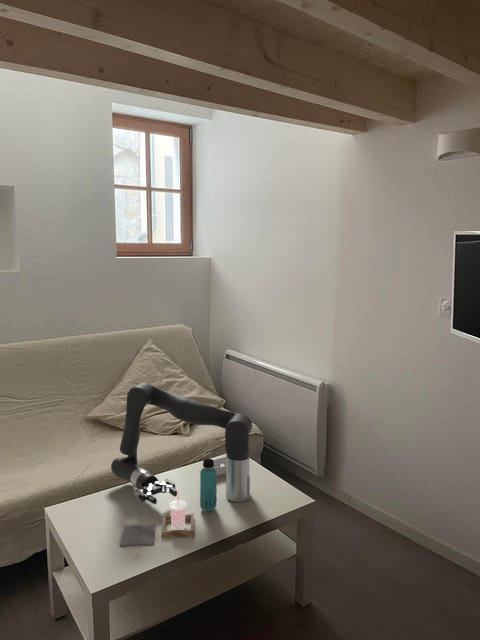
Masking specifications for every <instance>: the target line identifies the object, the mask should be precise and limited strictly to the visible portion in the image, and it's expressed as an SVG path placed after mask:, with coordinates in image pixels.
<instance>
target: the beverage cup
mask: <svg viewBox="0 0 480 640" xmlns="http://www.w3.org/2000/svg"><path fill="white" fill-rule="evenodd" d="M179 493H180V492H179V490H177V496H176V497H177V499H175V500H172V501H170V503H169V504H168V505H169V509H170V510H169V511H170V514H171V521H170V522H171V523H170V524H171V530H185V529H186V528H185V527H186V520H185V514H187V513H186V512H187V511H186V510H187V505H188V504H187V502H186V501H185V500H183V499H182V500H181V499H179V497H180V496H179V495H180V494H179Z"/></svg>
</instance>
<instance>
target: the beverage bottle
mask: <svg viewBox="0 0 480 640" xmlns="http://www.w3.org/2000/svg"><path fill="white" fill-rule="evenodd" d="M212 459H213V458H206V459H203V461H202V467H203V468H201V470H200V471H199V476H200V477H199V478H200V480H199V483H200V484H199V485H200V489H199V495H200V496H199V507H200V508H201V510H203V511H206V512H207V511H213V510H215V509H216V508H217V502H218V498H217V493H218V492H217V491H218V490H217V486H218V483H217V481H218V480H217V478H218V476H216V473H217V471H216V470H215V469H214V468H213V466H214V461H213V460H212Z"/></svg>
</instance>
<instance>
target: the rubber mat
mask: <svg viewBox="0 0 480 640" xmlns="http://www.w3.org/2000/svg"><path fill="white" fill-rule="evenodd" d="M156 527H157V525H156V524H137V525H135V524H132V525H124V526H123V531H122V534H121V539H120V542H119V547H136V546H137V547H139V546H154V542H155V534H156Z"/></svg>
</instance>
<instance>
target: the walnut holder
mask: <svg viewBox="0 0 480 640" xmlns="http://www.w3.org/2000/svg"><path fill="white" fill-rule="evenodd" d="M194 514H195V513H186V514H185V521H190V529H184V530H172V529H170V530H169V529H168V530H167V529H166V525H167V522H171V513H168V514H163V515H162V525H161V538H162V539H163V538H185V537H186V538H187V537H194V535H195V533H194V529H195V527H194V526H195V524H194V523H195V522H194V518H195V515H194Z"/></svg>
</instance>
